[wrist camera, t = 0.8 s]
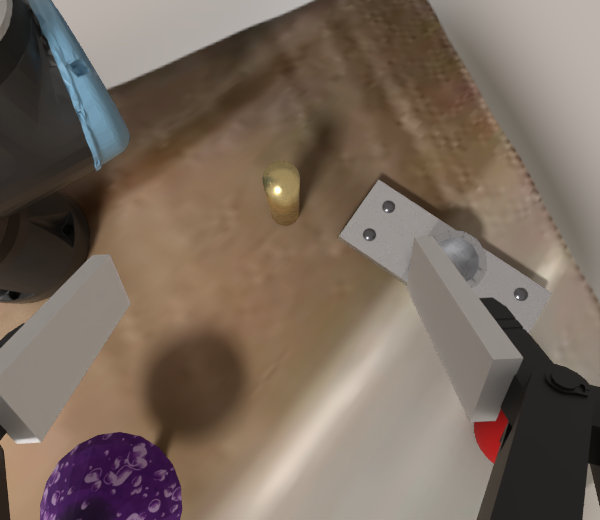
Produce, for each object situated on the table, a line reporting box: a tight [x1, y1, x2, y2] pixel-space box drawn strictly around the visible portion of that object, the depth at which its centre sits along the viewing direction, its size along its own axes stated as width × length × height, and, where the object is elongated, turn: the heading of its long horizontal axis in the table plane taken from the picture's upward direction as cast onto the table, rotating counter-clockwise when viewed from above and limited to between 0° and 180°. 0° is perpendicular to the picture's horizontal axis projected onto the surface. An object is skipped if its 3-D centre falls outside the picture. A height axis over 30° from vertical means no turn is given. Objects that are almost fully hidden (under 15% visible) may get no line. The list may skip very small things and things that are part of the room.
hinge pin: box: [263, 161, 300, 226], centre depth 38 cm, size 4×4×11 cm
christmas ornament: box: [474, 409, 508, 463], centre depth 34 cm, size 7×7×10 cm
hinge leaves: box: [338, 180, 552, 333], centre depth 40 cm, size 25×9×4 cm, turn 55°
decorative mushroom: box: [40, 432, 182, 520], centre depth 31 cm, size 12×12×15 cm
